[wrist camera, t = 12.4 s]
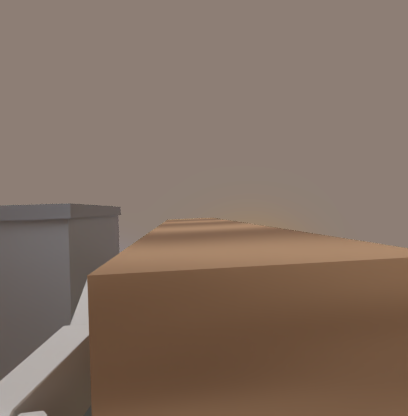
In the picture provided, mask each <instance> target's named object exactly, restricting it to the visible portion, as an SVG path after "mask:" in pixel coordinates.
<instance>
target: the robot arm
mask: <svg viewBox="0 0 408 416" xmlns="http://www.w3.org/2000/svg"><path fill="white" fill-rule="evenodd" d="M90 405H91V378H90V348H89V317H88V286H87V281H86V284H85V286H84V289H83V292H82V294H81V297H80V300H79V302H78V305H77V308H76V310H75V313H74V316H73V318H72V321H71V324H70V325H68V326H63V327H62V328H61V329H59V330H58V331H57V332H56V333H55V334H54V335H53V336H51V337H50V338H49V339H48V340H47V341H46V342H45V343H43V344H42V345H41V346H40V347H39V348H38V349H36V350H35V351H34V352H33V353H32V354H31V355H30V356H28V357H27V358H26V359H25V360H24V361H23V362H22V363H20V364H19V365H18V366H17V367H16V368H15V369H13V370H12V371H11V372H10V373H9V374H8V375H7V376H5V377H4V378H3V379H2V380H1V381H0V416H83V415H84V414H85V413H86V411H87V410H88V408H89V407H90Z"/></svg>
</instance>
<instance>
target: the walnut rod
mask: <svg viewBox="0 0 408 416" xmlns="http://www.w3.org/2000/svg"><path fill="white" fill-rule="evenodd" d="M87 286H88V317H89V348H90V378H91V409H92V416H408V248H403V247H397V246H390V245H383V244H377V243H371V242H365V241H358V240H352V239H345V238H339V237H333V236H325V235H320V234H313V233H307V232H300V231H294V230H287V229H281V228H275V227H269V226H262V225H256V224H250V223H242V222H237V221H230V220H224V219H218V218H196V219H172V220H167V221H165V222H164V223H162V224H161V225H159V226H158V227H157V228H155V229H154V230H152V231H151V232H149V233H148V234H146V235H145V236H143V237H142V238H141V239H139V240H138V241H136V242H135V243H134V244H132V245H131V246H129V247H128V248H126V249H125V250H123V251H122V252H120V253H119V254H118V255H116V256H115V257H113V258H112V259H110V260H109V261H107V262H106V263H105V264H103V265H102V266H100V267H99V268H97V269H96V270H95V271H93V272H92V273H90V274H89V275H87Z"/></svg>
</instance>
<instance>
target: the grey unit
mask: <svg viewBox="0 0 408 416" xmlns="http://www.w3.org/2000/svg"><path fill="white" fill-rule="evenodd" d="M118 215H121V213H120V207H113V206H98V205H82V204H45V205H44V204H43V205H9V206H0V381H1V380H2V379H3V378H4V377H5V376H7V375H8V374H9V373H10V372H11V371H12V370H13V369H15V368H16V367H17V366H18V365H19V364H20V363H22V362H23V361H24V360H25V359H26V358H27V357H28V356H30V355H31V354H32V353H33V352H34V351H35V350H36V349H38V348H39V347H40V346H41V345H42V344H43V343H45V342H46V341H47V340H48V339H49V338H50V337H51V336H53V335H54V334H55V333H56V332H57V331H58V330H59V329H61V328H62V327H63V326H68V325H70V324H71V321H72V318H73V316H74V313H75V310H76V308H77V305H78V302H79V300H80V297H81V294H82V292H83V289H84V286H85V284H86V281H87V275H89V274H90V273H92V272H93V271H95V270H96V269H97V268H99V267H100V266H102V265H103V264H105V263H106V262H107V261H109V260H110V259H112V258H113V257H115V256H116V255H118V254H119V227H118ZM83 416H92V409H91V405H90V407H89V408H88V410H87V411H86V413H85V414H84V415H83Z"/></svg>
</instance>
